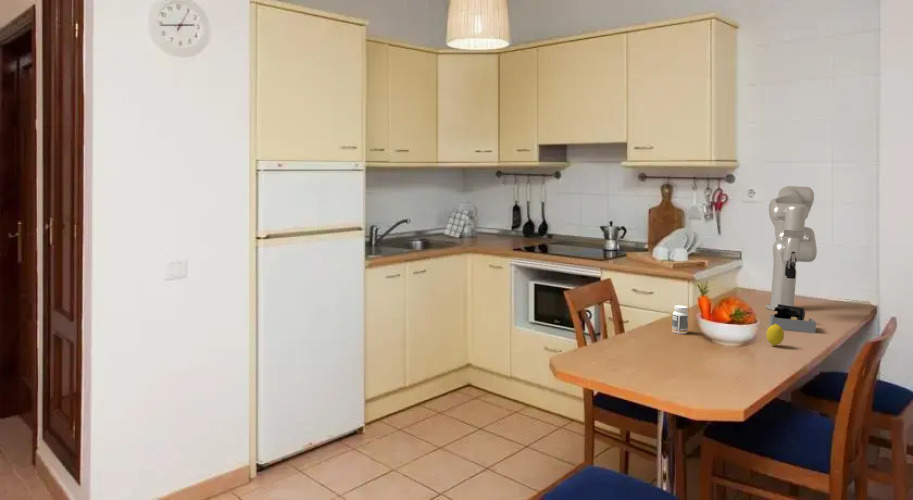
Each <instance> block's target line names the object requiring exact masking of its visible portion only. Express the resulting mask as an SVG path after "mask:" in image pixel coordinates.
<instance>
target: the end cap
mask: <svg viewBox="0 0 913 500" xmlns="http://www.w3.org/2000/svg"><path fill="white" fill-rule="evenodd" d="M773 311H774V312H776V313H774V314H773V315H774V318H783V319H791V317H797V320H804V321H805V317H806V312H805V308H804V307H799V306H794V307H793V306H787V305H781V304H778V307H775V310H773Z"/></svg>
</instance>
